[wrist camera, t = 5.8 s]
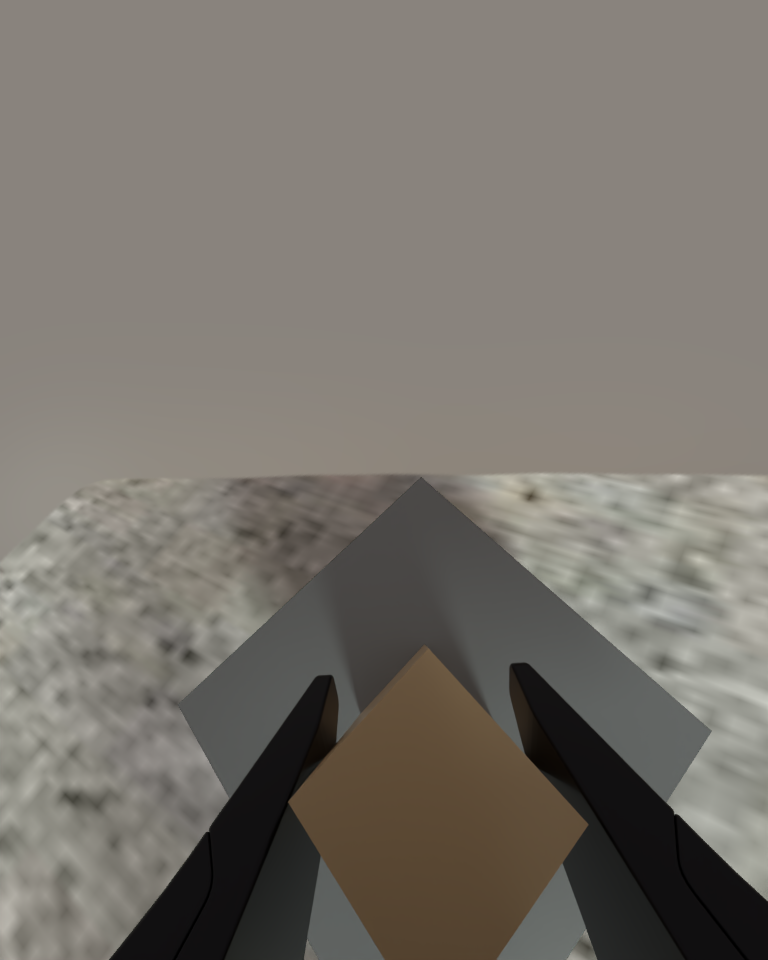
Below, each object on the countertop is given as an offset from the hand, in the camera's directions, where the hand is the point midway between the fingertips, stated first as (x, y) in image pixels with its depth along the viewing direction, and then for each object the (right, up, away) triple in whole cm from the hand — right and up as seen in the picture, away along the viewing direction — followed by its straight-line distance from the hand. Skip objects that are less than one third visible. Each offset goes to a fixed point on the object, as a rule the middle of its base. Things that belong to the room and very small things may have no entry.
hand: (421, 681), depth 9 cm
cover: (+1, -4, +7) cm, 8 cm away
